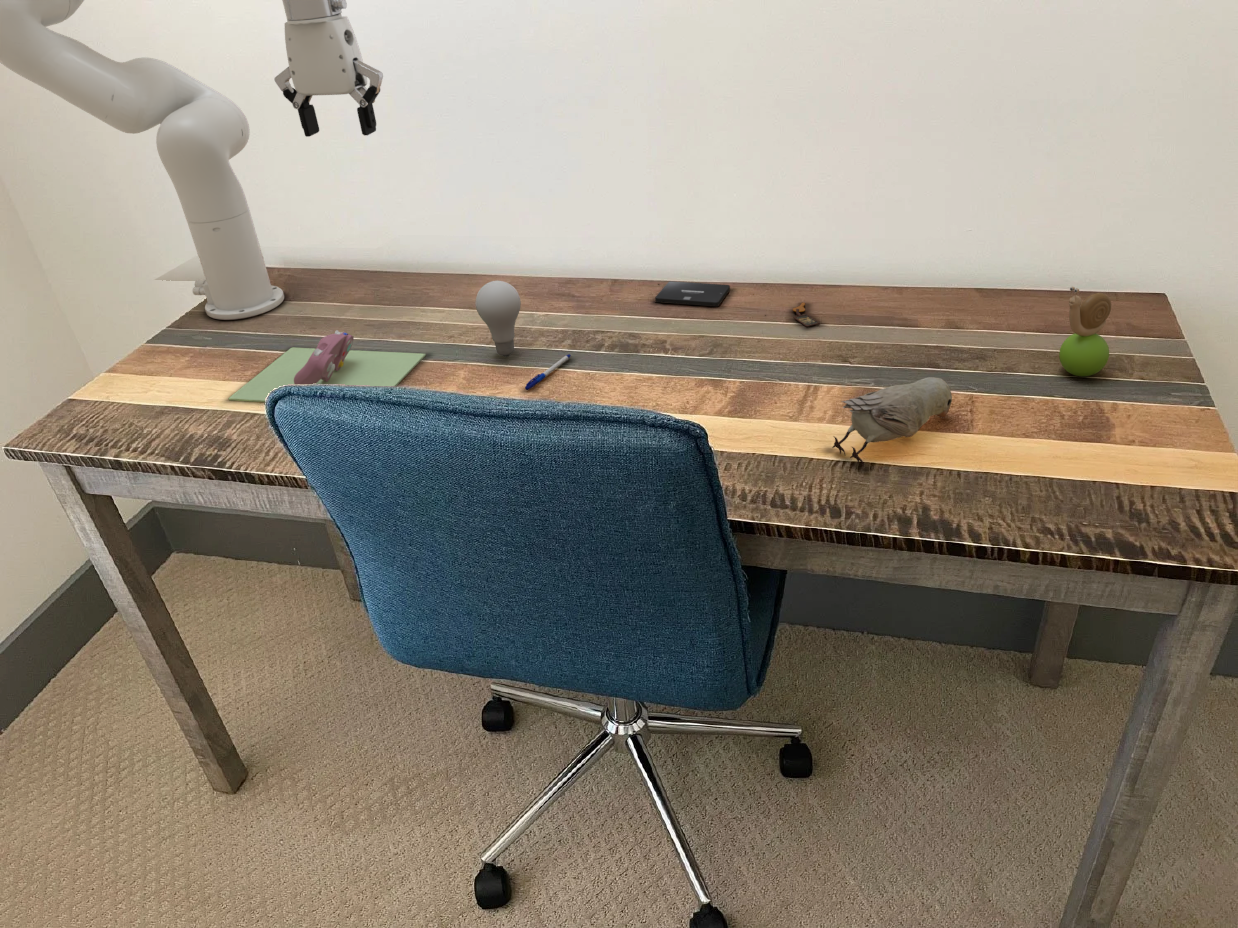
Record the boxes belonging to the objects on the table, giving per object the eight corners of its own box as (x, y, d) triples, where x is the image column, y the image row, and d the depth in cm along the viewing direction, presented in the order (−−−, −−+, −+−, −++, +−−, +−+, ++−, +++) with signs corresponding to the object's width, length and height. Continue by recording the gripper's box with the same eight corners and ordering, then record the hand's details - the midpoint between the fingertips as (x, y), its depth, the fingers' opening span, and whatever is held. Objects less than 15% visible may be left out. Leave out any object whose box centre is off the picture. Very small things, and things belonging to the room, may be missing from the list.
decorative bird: (963, 425, 110) (970, 366, 106) (858, 474, 103) (861, 412, 99) (927, 408, 114) (933, 350, 110) (823, 453, 107) (826, 394, 103)
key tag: (821, 325, 135) (821, 321, 135) (800, 328, 135) (800, 324, 135) (804, 303, 142) (804, 299, 142) (784, 305, 142) (784, 302, 142)
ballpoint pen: (530, 391, 125) (529, 385, 125) (524, 390, 126) (523, 384, 125) (571, 358, 133) (570, 351, 132) (566, 357, 133) (565, 350, 133)
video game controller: (321, 401, 131) (331, 360, 127) (289, 387, 131) (299, 346, 127) (352, 369, 139) (362, 329, 135) (323, 355, 139) (332, 315, 135)
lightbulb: (535, 349, 137) (525, 275, 131) (514, 368, 132) (502, 292, 126) (499, 344, 139) (487, 272, 133) (476, 362, 134) (463, 288, 129)
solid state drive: (717, 306, 144) (717, 302, 143) (654, 302, 147) (654, 297, 147) (730, 289, 149) (730, 285, 149) (669, 285, 153) (669, 281, 152)
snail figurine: (1039, 373, 119) (1055, 280, 112) (1080, 360, 121) (1097, 269, 114) (1073, 390, 114) (1091, 295, 108) (1114, 377, 116) (1135, 283, 110)
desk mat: (228, 400, 131) (228, 398, 131) (292, 349, 144) (291, 347, 144) (373, 409, 125) (373, 407, 125) (426, 355, 138) (425, 353, 138)
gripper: (379, 2, 137) (403, 126, 146) (274, 8, 141) (303, 129, 150) (354, 10, 130) (380, 139, 140) (244, 16, 135) (277, 141, 144)
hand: (340, 134), depth 145 cm, fingers open, 9 cm apart
